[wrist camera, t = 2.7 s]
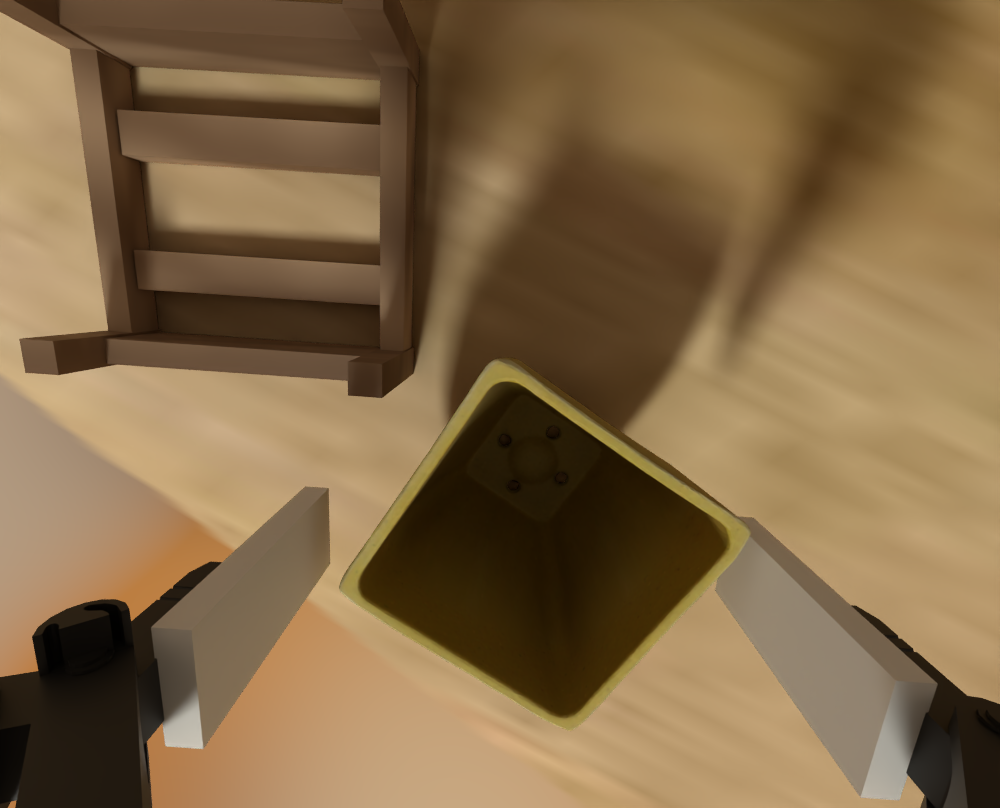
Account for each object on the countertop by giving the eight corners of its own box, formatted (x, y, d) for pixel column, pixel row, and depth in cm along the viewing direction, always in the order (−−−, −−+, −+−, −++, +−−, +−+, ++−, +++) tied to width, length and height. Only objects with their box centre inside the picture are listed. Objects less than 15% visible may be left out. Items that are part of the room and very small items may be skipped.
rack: (98, 32, 18) (-55, -62, 13) (419, 50, 18) (383, -40, 13) (138, 354, 21) (25, 372, 16) (413, 373, 21) (381, 398, 16)
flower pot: (403, 476, 22) (329, 595, 14) (505, 326, 20) (496, 351, 12) (551, 571, 23) (571, 739, 14) (661, 435, 21) (762, 534, 13)
